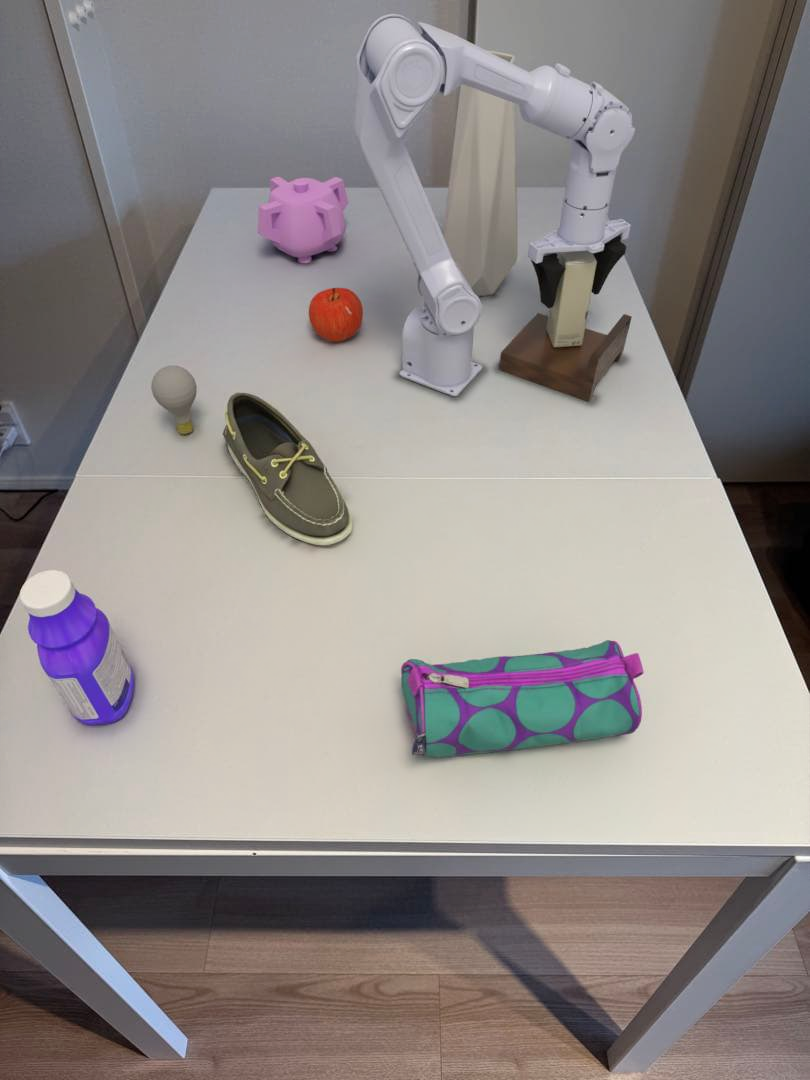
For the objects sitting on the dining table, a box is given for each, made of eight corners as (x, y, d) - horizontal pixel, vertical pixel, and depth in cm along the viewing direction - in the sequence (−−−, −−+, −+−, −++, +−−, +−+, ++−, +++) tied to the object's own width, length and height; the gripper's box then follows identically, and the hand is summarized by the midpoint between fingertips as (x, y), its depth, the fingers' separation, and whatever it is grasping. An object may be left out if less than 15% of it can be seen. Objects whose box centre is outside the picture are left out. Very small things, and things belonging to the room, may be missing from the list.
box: (582, 347, 109) (599, 262, 100) (552, 349, 109) (565, 264, 100) (573, 326, 113) (589, 243, 103) (544, 328, 113) (556, 244, 103)
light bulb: (215, 425, 103) (200, 363, 96) (191, 450, 100) (173, 387, 92) (182, 414, 105) (164, 352, 97) (157, 438, 101) (137, 376, 94)
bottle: (85, 668, 78) (19, 557, 65) (141, 663, 78) (87, 553, 65) (70, 733, 73) (-4, 628, 60) (130, 728, 74) (70, 622, 61)
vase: (525, 278, 128) (553, 53, 103) (492, 311, 121) (513, 78, 97) (462, 259, 132) (473, 38, 107) (426, 289, 126) (430, 62, 101)
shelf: (498, 370, 111) (503, 327, 106) (535, 329, 118) (540, 288, 112) (589, 402, 106) (598, 359, 101) (621, 358, 113) (631, 316, 107)
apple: (374, 337, 117) (372, 289, 111) (330, 356, 113) (325, 308, 107) (344, 314, 121) (341, 267, 115) (301, 332, 118) (295, 284, 112)
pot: (317, 214, 143) (311, 149, 134) (378, 248, 135) (376, 180, 126) (236, 247, 135) (224, 180, 126) (296, 285, 127) (288, 216, 118)
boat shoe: (366, 538, 90) (363, 493, 84) (290, 567, 87) (281, 523, 81) (288, 418, 104) (281, 373, 98) (220, 440, 101) (209, 395, 96)
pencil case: (412, 779, 70) (412, 729, 63) (400, 694, 76) (399, 639, 69) (633, 752, 72) (658, 700, 64) (605, 671, 77) (625, 615, 70)
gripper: (556, 226, 92) (541, 325, 102) (653, 200, 96) (630, 298, 106) (524, 202, 96) (513, 299, 106) (619, 178, 100) (600, 274, 110)
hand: (570, 297), depth 106 cm, fingers open, 7 cm apart
